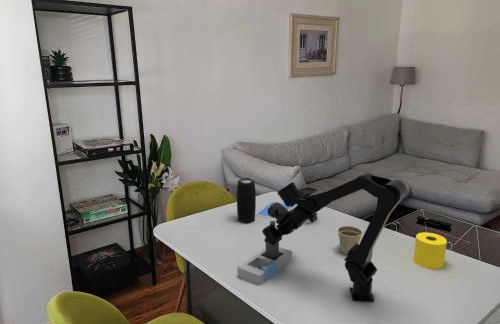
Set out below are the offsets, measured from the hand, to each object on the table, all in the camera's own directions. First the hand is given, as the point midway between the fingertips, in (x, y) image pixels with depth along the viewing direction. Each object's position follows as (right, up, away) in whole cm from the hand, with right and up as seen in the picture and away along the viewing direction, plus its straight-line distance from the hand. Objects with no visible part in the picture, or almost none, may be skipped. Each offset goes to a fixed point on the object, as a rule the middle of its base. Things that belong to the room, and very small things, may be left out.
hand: (269, 238), depth 137 cm
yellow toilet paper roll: (+59, -9, +2) cm, 59 cm away
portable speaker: (-9, 0, +40) cm, 41 cm away
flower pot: (+31, -7, +10) cm, 34 cm away
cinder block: (-1, -10, -2) cm, 10 cm away
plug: (+1, -7, +1) cm, 7 cm away
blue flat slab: (+6, +3, +51) cm, 51 cm away
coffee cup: (+20, 0, +39) cm, 43 cm away
